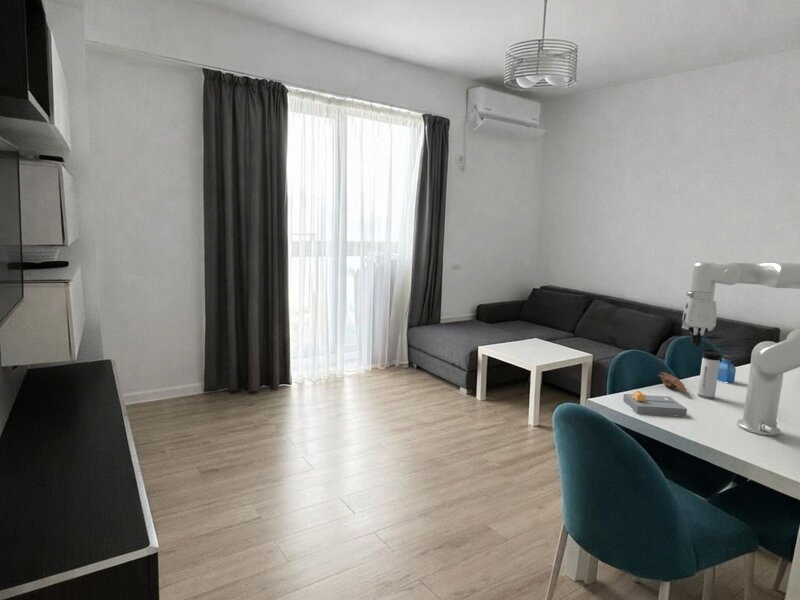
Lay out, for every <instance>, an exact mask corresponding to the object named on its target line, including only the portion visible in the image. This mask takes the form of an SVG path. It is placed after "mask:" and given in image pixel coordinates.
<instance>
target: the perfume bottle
mask: <svg viewBox="0 0 800 600" xmlns="http://www.w3.org/2000/svg"><path fill="white" fill-rule="evenodd" d="M731 358H732V357H731V356H730V355H726V354H723V355H722V358H721V361H720V363H719V370H718V377H717V380H719V381H718V382H720V381H723V382H731V383H735V379H736V374H737V373H736V371H737V369H736V367H735V365H734V363H730V362H731V361H732V359H731ZM723 382H722V383H723Z"/></svg>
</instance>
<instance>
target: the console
mask: <svg viewBox="0 0 800 600" xmlns="http://www.w3.org/2000/svg"><path fill="white" fill-rule="evenodd" d="M633 394H634V393H623V399H622V402H624V403H625V404H626V405H627V406H628V405H629V406H630V407H631V408H632V409H633V412H635V413H636V414H638V415H639V414H642V415H654V416H668V415H677V416H676V417H684V416H686V417H687V414H688V413H687V412H688V408H686V407H685V406H684V405H682V404H680V402H678V401H676V400H675V399H674V398H672V397H671V396H665V395H664V396H663V395H648V394H645V395H646V398H645V401H637V400H635V399H634V398H633ZM629 406H628V407H629ZM630 407H629V408H630ZM631 408H630V409H631ZM632 409H631V410H632Z"/></svg>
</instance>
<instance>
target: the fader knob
mask: <svg viewBox="0 0 800 600" xmlns="http://www.w3.org/2000/svg"><path fill="white" fill-rule="evenodd" d="M632 394H633V398H634V399H635V400H637V401H645V398H646V395H647V394H645V393H643V392H642V391H639V390H636V391H635V390H633V393H632Z"/></svg>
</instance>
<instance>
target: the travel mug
mask: <svg viewBox="0 0 800 600" xmlns="http://www.w3.org/2000/svg"><path fill="white" fill-rule="evenodd" d="M720 362H721V352H719V351H717V350H713V349H711V348H705V349H704V350H703V353H702V358H701V365H700V375H699V381H698V389H697V397H700V398H702V397H703V399H706V398H708V399H707V400H714V399H715V398H716V389H717V383H718V381H717V377H718V370H719V363H720Z"/></svg>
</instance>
